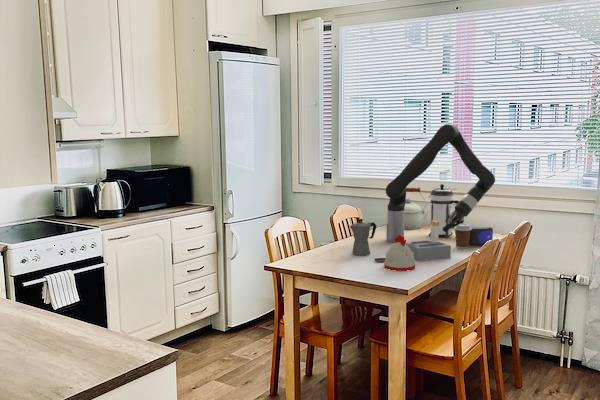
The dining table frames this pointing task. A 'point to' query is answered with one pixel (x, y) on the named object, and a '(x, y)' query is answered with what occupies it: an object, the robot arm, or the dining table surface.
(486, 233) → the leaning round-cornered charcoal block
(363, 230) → the coffeepot
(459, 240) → the coffee cup
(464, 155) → the robot arm
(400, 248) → the cream and red dome
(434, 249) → the box
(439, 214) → the coffee press
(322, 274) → the dining table surface
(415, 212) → the kettle
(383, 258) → the cords
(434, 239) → the breaker slider
